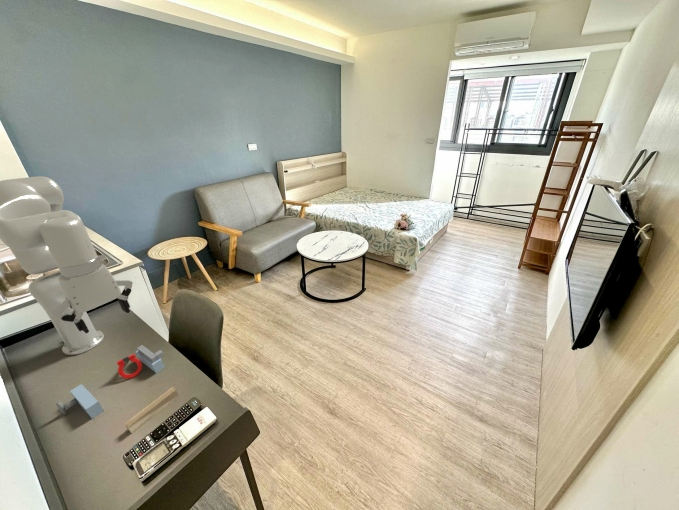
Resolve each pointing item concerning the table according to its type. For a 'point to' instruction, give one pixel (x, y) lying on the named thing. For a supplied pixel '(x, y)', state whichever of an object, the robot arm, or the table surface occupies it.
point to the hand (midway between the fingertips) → (106, 320)
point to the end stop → (151, 410)
